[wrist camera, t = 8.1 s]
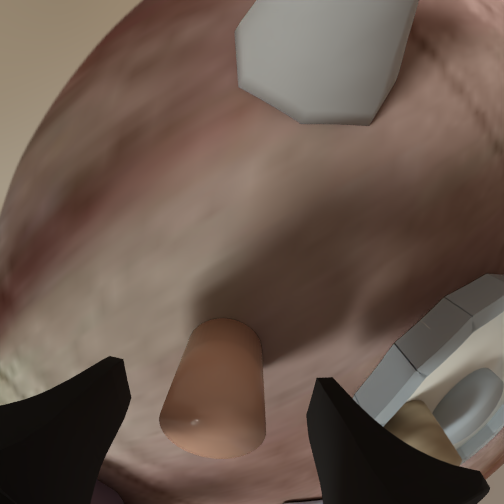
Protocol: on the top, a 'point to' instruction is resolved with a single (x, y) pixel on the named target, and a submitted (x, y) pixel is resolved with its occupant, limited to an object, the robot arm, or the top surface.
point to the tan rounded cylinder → (422, 432)
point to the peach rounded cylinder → (217, 392)
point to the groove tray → (449, 367)
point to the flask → (323, 56)
